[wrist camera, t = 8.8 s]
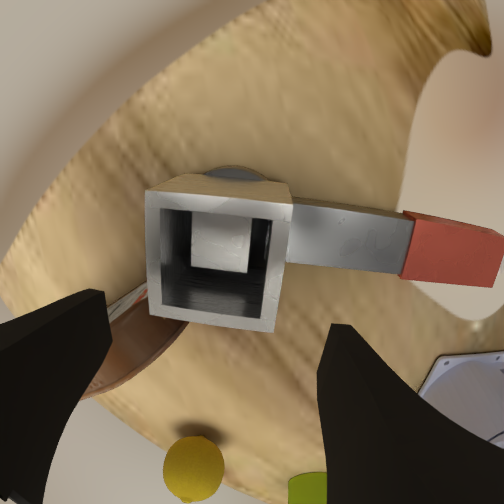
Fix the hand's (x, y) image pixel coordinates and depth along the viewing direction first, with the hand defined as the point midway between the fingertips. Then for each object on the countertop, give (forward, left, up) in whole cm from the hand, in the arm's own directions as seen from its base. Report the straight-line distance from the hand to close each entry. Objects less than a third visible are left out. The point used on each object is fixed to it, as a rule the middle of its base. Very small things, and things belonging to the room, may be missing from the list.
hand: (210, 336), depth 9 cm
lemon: (+3, +21, -10) cm, 23 cm away
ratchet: (-7, -1, -9) cm, 12 cm away
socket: (+1, -1, -8) cm, 8 cm away
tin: (+9, +7, -10) cm, 15 cm away
